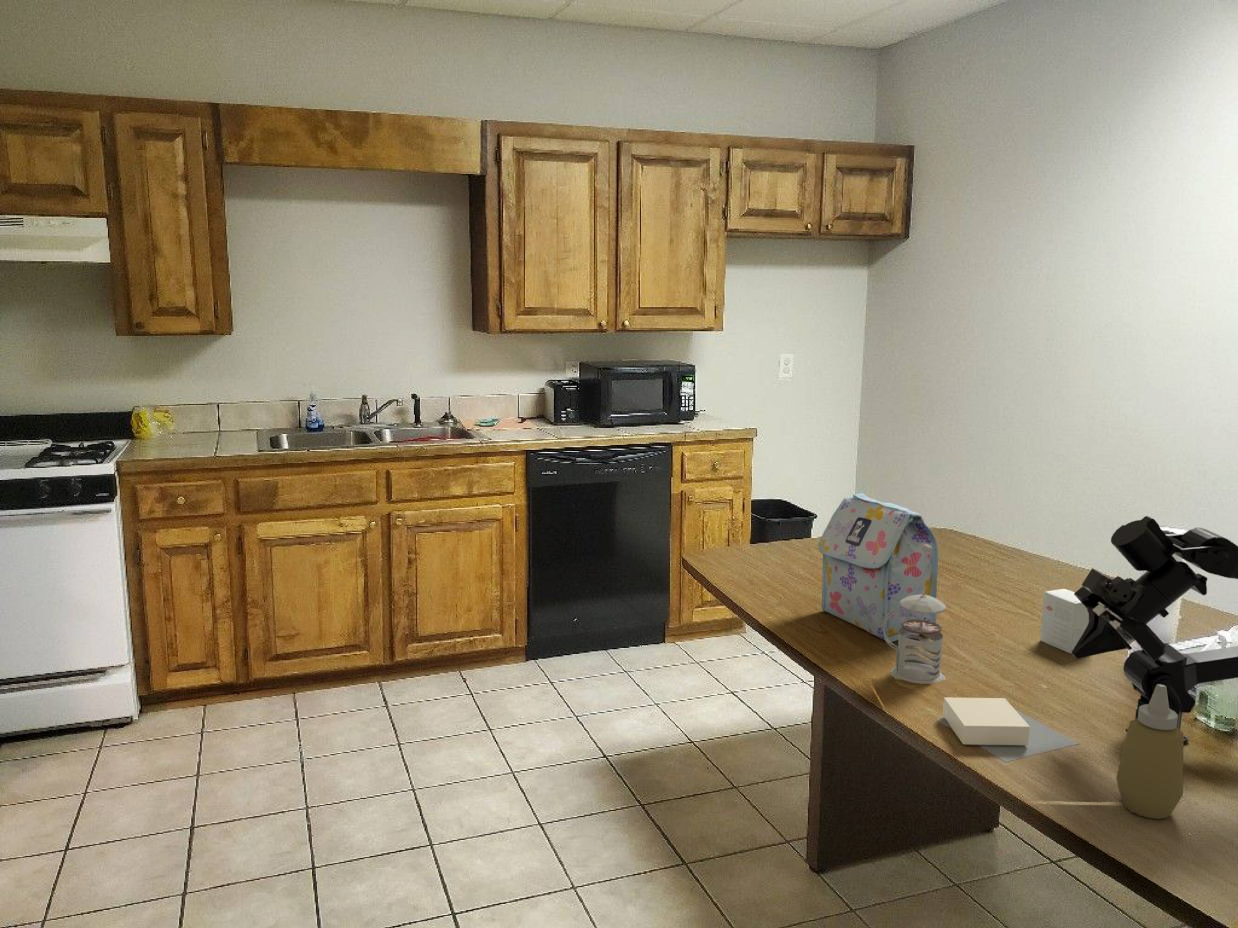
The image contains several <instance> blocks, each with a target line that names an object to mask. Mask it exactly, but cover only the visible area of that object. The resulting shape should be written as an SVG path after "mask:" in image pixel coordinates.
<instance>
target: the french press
mask: <svg viewBox="0 0 1238 928" xmlns="http://www.w3.org/2000/svg"><path fill="white" fill-rule="evenodd" d="M921 551H923V552H926V556H925V570H924V585H923V595H920V594H919V595H913V596H908V597H906V598H904V599H902V600H901V601H900V605H901V606H902V607H903V608H904V609H906V610H909V611H912V612H916V613H921V619H913V618H912V619H906V620H905V621H902V622H901V626H902V627H903V628H901V629H900V630H899V640H897V643H898V644H894V643H893V642H890V641H889V640H888V639H887V638H886V635H885V625H886V623H887V621H888V619H889V618H890V617H891V616H893V615H894V614H896V613H899V618H900V619H901V610H900V609H895V610H892V611H891V612H889V613H888V614H887V615H886V617H885V619H884V621H883V634H884V638H885V640H884V641H885V643H886V644H887V645H888V646H889V647H891V648H893V649H894V650H895V651H896V652H895V653H896V655H895V665H894V667H893V668H891V669H890V675H891V677H892V678H893V677H894V678H893V679H895V680H902V681H906V682H909V683H915V684H921V685H922V684H924V685H929V684H936V683H940V682H941V681H945V680H947V679H946V678H947V677H946V676H945V675H944V674H943V673H942V671H941V667H942V666H941V665H942V653H943V652H942V651H943V641H944V640H943V638H944V634H943V633H942V629H943V627H942V625H940V623H937V622H936V623H935V622H934V621H933V622H932V621H929V620H922V616H923V614H941V613H943V612H945V611H946V610H947V609H946V608H947V605H946V604H944V602H943V601H941V600H940V599H938V598H937V599H936V598H934V597H931V596H928V595H924V587H925V573H926V558H927V552H932V547H931V546H930V545H923V546H922V548H921ZM896 610H899V612H895V613H893V614H891V615H890V616H889V617H888V615H889V614H890V613H892V612H893V611H896ZM887 617H888V618H887ZM886 618H887V620H886ZM885 621H886V622H885ZM884 623H885V624H884ZM907 632H912V633H916V634H919V635H913V634H911V635H908V636H905V637H904V636H903V635H904V634H906V633H907ZM920 635H923V636H924V637H925V638H927V639H929V641H928V640H926V639H925V638H923V637H922V636H920ZM887 641H888V642H889V643H888V642H887ZM908 646H909V647H908ZM913 646H916V647H913ZM906 647H907V648H906ZM917 647H919V648H921V649H923V650H924V651H923V650H921V649H919V648H917ZM925 651H926V652H925ZM929 653H930V654H929ZM920 655H921V656H920ZM922 656H924V657H925V658H924V657H922Z"/></svg>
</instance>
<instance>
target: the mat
mask: <svg viewBox="0 0 1238 928" xmlns="http://www.w3.org/2000/svg"><path fill="white" fill-rule="evenodd" d="M1014 709H1015V710H1016V711H1017V712H1018V714H1019V715H1020V716H1021V717H1022V718H1023V719H1024V720H1025V722H1026V723H1027V724H1028V725H1029V726H1030V731H1029V742H1028V745H1022V746H1009V745H977V746H978V747H980V748H981V749H983V750H984V751H987V752H988V753H990V754H992V755H993V756H995V758H998V759H1000V760H1001V761H1002V762H1004V763H1007V762H1012V761H1016V760H1020V759H1024V758H1028V757H1032V756H1036V755H1041V754H1044V753H1049V752H1052V751H1056V750H1061V749H1063V748H1064V749H1065V748H1069V747H1073V746H1076V745H1079V744H1080V743H1078V742H1076V741H1075V740H1073V739H1071V738H1070V737H1068V736H1065V735H1063V734H1062V733H1060V732H1058V731H1056V730H1055V729H1053V728H1050V726H1048V725H1045V724H1043V723H1042V722H1040V721H1038V720H1036V719H1034V718H1032V717H1030V716H1029V715H1026V714H1024V713H1023V712H1021V711H1020V710H1017V709H1016V708H1014ZM935 720H936V721H938V722H939V723H941V724H943V725H944V726H946V727H947V728H949V729H951V730H952V731H953V729H952V728H951V726H950V725H949V723H948V722H947V721H946V719H945V718H944V717H941V718H940V717H939V718H936V719H935Z"/></svg>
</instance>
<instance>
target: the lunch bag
mask: <svg viewBox="0 0 1238 928" xmlns="http://www.w3.org/2000/svg"><path fill="white" fill-rule="evenodd" d="M923 545H930V546H931V547H932V552H927V558H926V573H925V587H924V595H928V596H931V597H934V598H936V599H938V596H937V595H938V573H939V543H938V541H937V538H936V536H935V534H934V533H933V531H932V529H931V528H930V527H929V526H928V525H927V523H926V522H925V520H924V519H923V516H922V514H920V513H918V512H916V511H913V510H910V509H909V508H907V507H903V506H900V505H897V504H895V503H892V502H882V501H879V500H876V499H874V498H871V497H868V496H867V495H866V494H865V493H863V492H860V493H856V494H853V495H852V496H849V497H844V498H843V499H842V501H840V504H839V505H838V507H837V508H836V509H835V511H834V513H832V516H831V517H830V519H829V522H828V524H827V525H826V528H825V529H824V531H823V532H822V535H821V536H820V538H819V541H818V545H817V546H818V550H819V551H818V552H819V553H821V554H822V582H821V583H822V585H821V610H822V612H827V613H828V614H830V615H833V616H835V617H836V618H839V619H841V620H842V621H846V622H848V623H849V624H852V625H854V626H855V627H858V628H860V629H862V630H864V631H866V632H868V633H869V634H871V635H874V636H875V637H877V638H880V639H881V640H884V641H885V638H884V634H883V621H884V619H885V617H886V615H887V614H888V613H889V612H891V611H892V610H895V609H900V610H901V619H900V618H899V613H896V614H894V615H893V616H891V617H890V618H889V619H888V621H887V623H886V625H885V635H886V638H887V639H888V640H889V641H890V642H891V643H893V642H898V640H899V630H900V629H901V628H903V627H902V626H901V622H902V621H905V620H906V619H912V618H913V619H921V613H916V612H912V611H909V610H906V609H904V608H903V607H902V606H901V605H900V601H901V600H902V599H904V598H906V597H908V596H913V595H919V594H920V595H923V585H924V570H925V556H926V552H923V551H921V548H922V546H923ZM895 612H899V610H896V611H893V612H892V613H890V614H889V615H888V617H889V616H890V615H891V614H893V613H895ZM937 614H938V613H937ZM937 614H923V616H922V620H929V621H932V622H933V621H934V622H935V623H937V616H938V615H937ZM888 617H887V618H888ZM887 618H886V620H887ZM885 622H886V621H885ZM884 624H885V623H884ZM911 634H913V635H918V636H920V634H916V633H912V632H907V633H906V634H904V635H903V636H904V637H905V636H908V635H911ZM887 642H888V641H887ZM888 643H889V642H888ZM889 644H890V643H889Z"/></svg>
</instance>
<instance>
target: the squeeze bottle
mask: <svg viewBox="0 0 1238 928" xmlns="http://www.w3.org/2000/svg"><path fill="white" fill-rule="evenodd" d="M1177 719H1178V714H1177V713H1176V712H1175V711H1173V710H1171V709H1169V703H1168V696H1167V688H1166V686H1164V685H1161V684H1157V685H1156V687H1155V690H1154V692H1153V695H1152V697H1151V700H1150V702H1149V704H1145V705H1142V706H1140V707H1139V711H1138V718H1137V719H1135V718H1134V719H1133V720H1131V721H1129V724H1128V731H1126V736H1125V740H1124V745H1123V748H1122V753H1121V757H1120V762H1119V765H1118V769H1117V772H1116V773H1117V774H1116V784H1117V786H1118V790H1119V794H1120V798H1121V802H1122V804H1123V805H1124V807H1125V808H1126V809H1127V810H1128V811H1130V812H1132V813H1134V814H1136V815H1138V816H1140V817H1145V818H1148V819H1157V820H1161V819H1167V818H1169V817H1170V816H1171V815H1172V813H1173V812H1174V811H1175V809H1176V808H1177V805H1178V804H1179V803H1180V800H1181V798H1182V797H1183V795H1184V743H1183V736H1184V733H1183V732H1182V731H1181V728H1180V729H1179V728H1177Z"/></svg>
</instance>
